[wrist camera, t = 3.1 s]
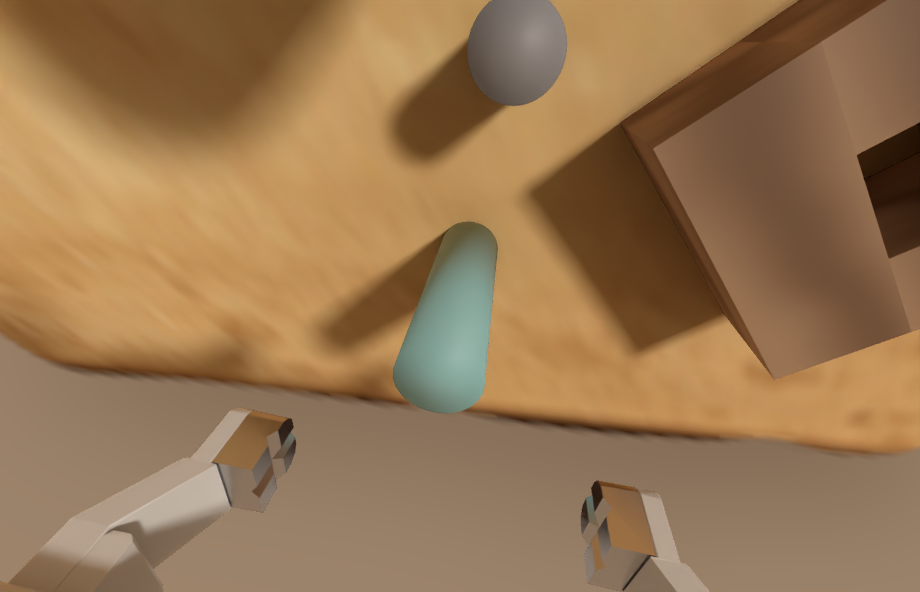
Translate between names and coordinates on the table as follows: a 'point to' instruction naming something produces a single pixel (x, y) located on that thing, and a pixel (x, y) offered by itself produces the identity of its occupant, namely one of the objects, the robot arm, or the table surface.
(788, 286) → the walnut block
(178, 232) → the table surface
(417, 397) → the teal dowel
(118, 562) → the robot arm
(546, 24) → the charcoal dowel
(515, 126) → the table surface
